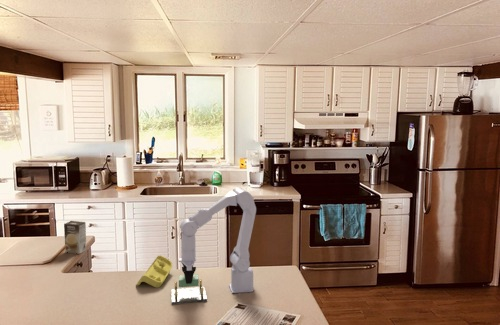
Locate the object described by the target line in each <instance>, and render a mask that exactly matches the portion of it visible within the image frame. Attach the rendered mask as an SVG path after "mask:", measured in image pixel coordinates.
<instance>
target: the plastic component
mask: <svg viewBox="0 0 500 325" xmlns="http://www.w3.org/2000/svg"><path fill="white" fill-rule="evenodd" d="M172 268H173V263H172V261H171V260H170V259H168V258H167V257H165V256H163V255H157V257H156V258H155V259H154V261H153V262H152V263H151V265H150V266H149V267H148V269H147V270H146V272H145V273H144V274H142V276H141V278H140V279H139V280H138V281H137V283H136V284H135V285H136V286H138V287H139V286H140V285H141V283H143V282H144V283H146V284H148V285H149V286H151V287H153V288H160V287H161V286H162V285H163V284H164V282H165V280H166V279H167V277H168V275H169V274H170V272H171V271H172Z"/></svg>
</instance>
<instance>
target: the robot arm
mask: <svg viewBox="0 0 500 325" xmlns="http://www.w3.org/2000/svg"><path fill="white" fill-rule="evenodd" d="M228 206H233V207H234V206H235V207H237V206H239V207H240V208H241V209H242V212H243V213H242V218H241V223H240V228H239V232H238V237H237V241H236V246H234V247H233V251H232V253H231V254H230V256H229V260H230V263H231V264H232V266H231V272H230V274H231V276H230V278H231V283H229V285H228V286H229V289H230V292H231V293H232V294H236V293H237V294H241V293H248V292H249V293H251V292H254V270H253V268H252V267H250V265H251V262H250V251H249V247H250V242H251V237H252V232H253V228H254V222H255V220H256V219H255V218H256V215H257V206H256V204H255V201H254V196H253V195H252V194H251V193H250V192H248V191H247V190H244V189H243V188H242V187H239V186H237V187H234V189H233V190H230V191H228V192H227V193H226V194H225V195H223V197H221V198H220V199H219V200H217V201H216V202H215V203H214V204H212V205H211V206H209V207H208V208H199V209H198V210H197V212H196V213H194V214H193V215H192V216H191V215H190V216H188V218H185V219H183V220H182V221H181V223H180V225H179V228H180V230H181V234H180V235H181V237H180V240H181V241H180V242H181V243H180V244H181V247H180V248H181V250H180V251H181V253H180V254H181V257H180V258H178V262H179V263H181V264H182V266H181V270H182V272H183V275H185V280H186V284H191V283H192V279H193V275H194V274H195V272H196V270H197V267H196V266H194V265H195V263H196V261H197V258H196V233H197V232H198V229H200V228H201V227H203V226H204V225H206V224H207V223H208V222H209V223H210V221H211V220H212V218H213V216H214V215H215V214H217V213H219V212H221V211H222V210H224V209H225V208H228Z"/></svg>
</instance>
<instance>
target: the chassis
mask: <svg viewBox="0 0 500 325" xmlns="http://www.w3.org/2000/svg"><path fill="white" fill-rule="evenodd" d="M202 302H204V303H205V302H208V297H207V292H206V287H205V286H203V280H202V279H199V286H194V287H181V288H178V281H174V289H171V305H181V304H191V303H192V304H193V303H202Z"/></svg>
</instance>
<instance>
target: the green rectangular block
mask: <svg viewBox="0 0 500 325" xmlns="http://www.w3.org/2000/svg"><path fill="white" fill-rule="evenodd" d="M199 280H200V279H199V274H195V273H194V275H193V279H192V283H191V284H186V280H185V275H184V274H182V275H181V274H180V275H178V288H194V287H200V285H199Z"/></svg>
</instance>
